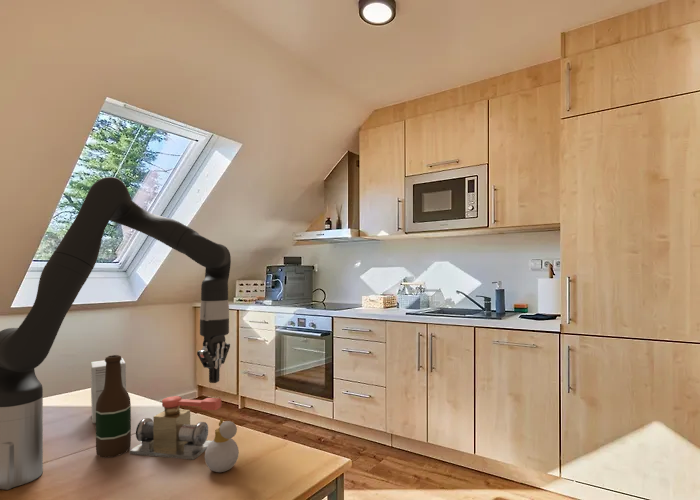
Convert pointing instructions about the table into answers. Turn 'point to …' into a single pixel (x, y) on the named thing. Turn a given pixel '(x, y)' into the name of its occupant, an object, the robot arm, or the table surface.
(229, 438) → the perfume bottle
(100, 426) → the beer bottle
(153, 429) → the valve
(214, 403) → the lever
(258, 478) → the table surface
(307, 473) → the table surface
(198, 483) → the table surface
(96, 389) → the supplement box
